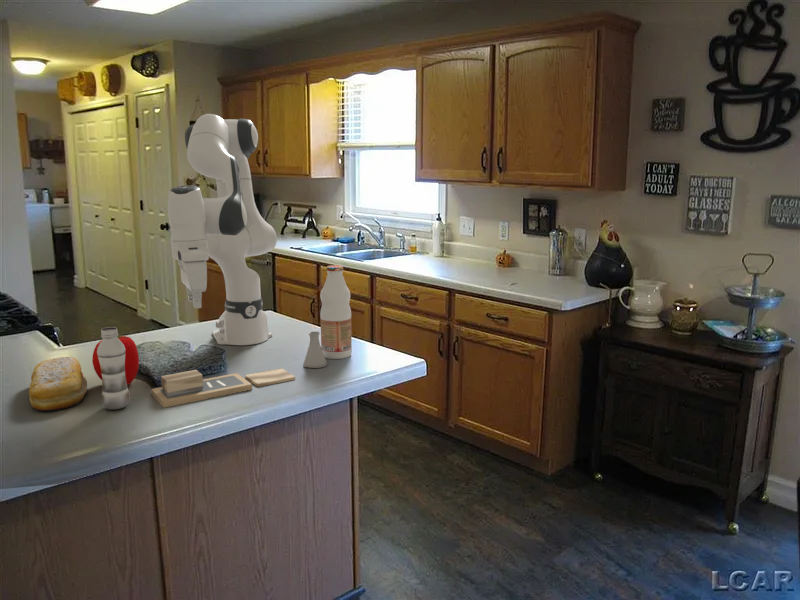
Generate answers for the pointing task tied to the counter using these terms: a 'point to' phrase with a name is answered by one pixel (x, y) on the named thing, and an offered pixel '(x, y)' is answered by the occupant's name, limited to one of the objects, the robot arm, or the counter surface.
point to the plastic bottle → (113, 370)
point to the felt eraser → (182, 383)
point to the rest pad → (269, 377)
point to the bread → (57, 384)
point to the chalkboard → (205, 390)
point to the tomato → (130, 359)
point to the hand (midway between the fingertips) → (195, 304)
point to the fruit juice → (335, 315)
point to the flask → (314, 353)
